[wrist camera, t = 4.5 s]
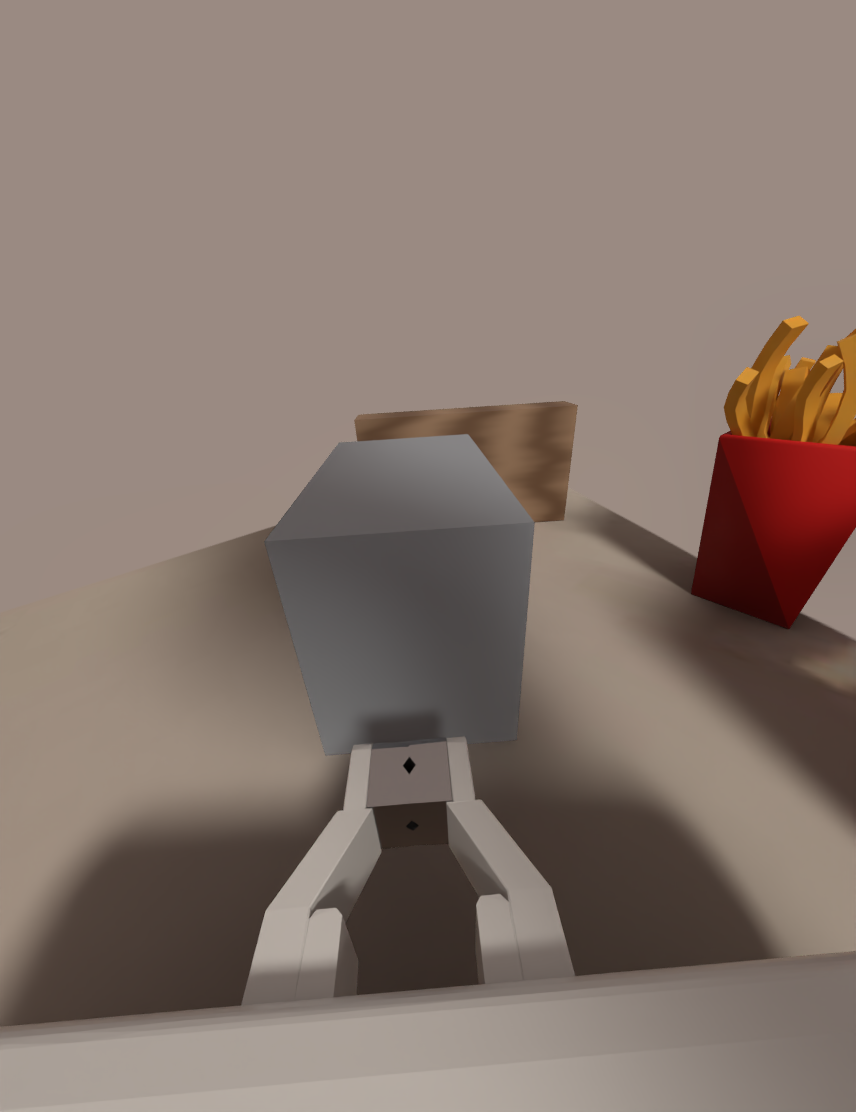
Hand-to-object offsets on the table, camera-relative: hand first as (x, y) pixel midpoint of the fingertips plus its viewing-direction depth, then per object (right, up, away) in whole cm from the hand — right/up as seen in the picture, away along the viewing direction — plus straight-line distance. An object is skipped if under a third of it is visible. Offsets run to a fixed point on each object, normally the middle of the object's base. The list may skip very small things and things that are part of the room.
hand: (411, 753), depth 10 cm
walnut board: (+4, +9, +26) cm, 28 cm away
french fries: (+20, +2, +13) cm, 24 cm away
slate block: (0, 0, +12) cm, 12 cm away
